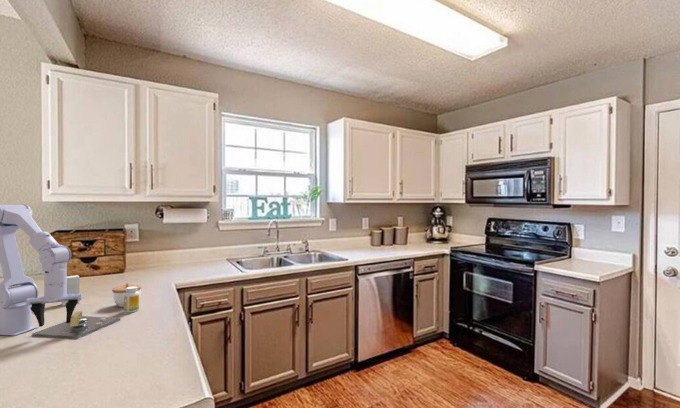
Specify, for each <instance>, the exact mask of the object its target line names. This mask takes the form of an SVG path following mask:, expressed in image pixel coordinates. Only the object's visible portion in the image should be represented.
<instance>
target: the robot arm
mask: <svg viewBox="0 0 680 408" xmlns="http://www.w3.org/2000/svg"><path fill="white" fill-rule="evenodd" d="M18 230H22V231H23V232H24V233H25V234H26V235H27V236H28V237H29V245H31V246H32V247H33V248H34V250H36V252H37V253H38V254H39V255H40V256H39V257H38V259H39V263H40V264H41V269H42V271H44V272H43V275H44V276H43V278H44V280H43V289H44V290H43V296H39V294H40V291H39V287H38V286H37V284H36V283H35V280H34V278H32V277H30V276H27V275H25V271H24V266H23V263H22V259H21V254H20V250H19V246H18V245H19V244H18V242H17V237H16V232H17V231H18ZM71 259H72V251H71V250H70V248H69V247H68V246H67V245H63V244H60V243H59V242H57V240H56V239H55V238H54V237H53V236H52V235H51V233H50V232H48V231H43V230H42V229H41V227H40V226H39V225H38V224H37V222H36V221H35V220H34V218H33V210H32V209H31V207H30V206H29V205H28V204H0V267H1V272H2V276H3V280H2V281H1V282H0V335H2V336H19V335H21V334H24V333H26V332H29V331H32V330H35V329H37V328H39V327H40V328H41V327H43V326H44V325H45V307H46V304H51V303H52V304H53V303H62V302H65V301H68V302H67V303H66V306H65V308H66V320H65V322H66V324H67V323H70V322H71V317H72V316H73V314H74V311H75V308H76V306H77V305H78V304H79V303H78V301H83V299H84V293H80V294H67V277H68V276H67V273H68V272H67V271H68V270H67V269H68V268H67V267H68V265H67V263H68V262H70V261H71ZM32 313H33V315H34V317H35V318H36V320H37V323H38V325H32V316H33V315H32Z"/></svg>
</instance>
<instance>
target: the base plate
mask: <svg viewBox="0 0 680 408" xmlns="http://www.w3.org/2000/svg"><path fill="white" fill-rule="evenodd" d="M82 317H88V321H86V322H84V323H79V324H78V326H73V327H71V324H70V323H67V324H66V321H63V322H61V323H58V324H55V325H52V326H50V327H47V328H45V329H41V330H39V331H35V332H33V333H31V336H32V337H42V338H45V337H46V338H56V339H57V338H59V339H60V338H61V339H71V340H72V339H73V340H77V339H80V338H83V337H84V336H88V335H90V334H92V333H94V332H96V331H98V330H101V329H103V328H105V327H109V326H110V325H112V324H115V323H117V322H120V321H121V317H104V316H87V315H86V316H84V315H82Z"/></svg>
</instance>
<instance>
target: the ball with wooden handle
mask: <svg viewBox="0 0 680 408" xmlns="http://www.w3.org/2000/svg"><path fill="white" fill-rule="evenodd" d="M82 316H83V311H82V310H79V311H75V312H73V314H72V317H71V322H70V324H71V327H73V326H78V324H79V323H84V322H86V321H88V317H82Z"/></svg>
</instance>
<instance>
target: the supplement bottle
mask: <svg viewBox="0 0 680 408" xmlns="http://www.w3.org/2000/svg"><path fill="white" fill-rule="evenodd" d="M126 292H127V293H125V294H124V307H123V312H124V313H126V314H127V313H134V312H138V311H139V310H140V298H139V292H137V287H135V286H134V287H127V288H126Z"/></svg>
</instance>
